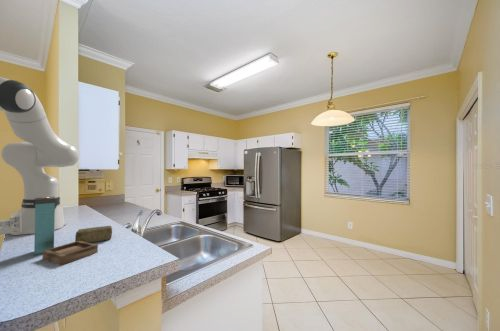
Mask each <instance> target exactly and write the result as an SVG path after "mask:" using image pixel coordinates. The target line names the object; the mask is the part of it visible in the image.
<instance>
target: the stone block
mask: <svg viewBox="0 0 500 331" xmlns="http://www.w3.org/2000/svg"><path fill="white" fill-rule="evenodd" d="M112 234H113V228H112V226H111V225H105V226H94V227H86V228H80V229H78V230H77V231H76V233H75V236H74V237H75V238H74V239H75V241H74V242H76V241H83V242H88V243H92V244H93V243H96V242H97V243H98V242H103V241H108V240H111V238H112Z"/></svg>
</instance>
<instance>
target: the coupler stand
mask: <svg viewBox="0 0 500 331" xmlns="http://www.w3.org/2000/svg"><path fill="white" fill-rule="evenodd" d="M98 246H99V245H98V244H96V243H93V242H92V243H88V242H83V241H76V242H75V241H73V242H70V243H66V244H63V245H59V246H54V248H51V249H48V250H44V251H43V254H42V260H44V261H48V262H51V263H54V264H58V265H61V266H64V265H66V264H69V263H71V262H74V261H78V260H80V259H84V258H85V257H88V256H91V255H94V254H96V253H98V251H99V250H98V248H99V247H98Z"/></svg>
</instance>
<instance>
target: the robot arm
mask: <svg viewBox="0 0 500 331" xmlns="http://www.w3.org/2000/svg"><path fill="white" fill-rule="evenodd" d="M0 111H3V112H4V114H5V117H6V119H7V120H8V123H9V124H10V127H11V129H12V131H13V134H14V135H15V136H16V137H17V138H18V139H20V140H22V141H20V142H19V141H18V142H17V141H16V142H10V143H9V142H8V143H7V144H5V145H4V147H3V148H2V149H1V154H0V155H1V160H3V162H5V163H6V164H7V165H9V166H10V167H12V168H13V169H15V170H16V171H17V172H18V174H19V175H20V177H21V179H22V181H23V182H22V183H23V192H24V194H23V197H24V198H23V199H22V202H21V205H20V209H19V210H18V211H17V212H16V213H15V214H14V215H13V216H12V217H9V220H0V235H1V236H2V235H5V234H8V235H10V236H21V235H31V234H33V235H35V198H41V197H55V217H54V231H55V230H56V231H57V230H59V229H61V228H63V227H64V226H66V225H67V224H68V223H67V221H65V219H64V210H63V207H61V197H60V196H59V195H60V193H59V192H60V182H59V180H58V178H56V177H55V176H53V175H51V174H48V173H47V172H46V171H45V169H44V168H64V167H65V168H66V167H71V166H74V165H76V164H77V162H78V161H79V159H80V153H79V150H78V148H76V146H74V145H72V144H70V143H68V142H66V141H65V140H63V139H62V138H60V137H59V136H58V135H57V133H55V132H54V130H53V129H52V127H51V124H50V121H49V119H48V117H47V114H46V111H45V109H44V105H42V103H41V101H40V99H39V98H38V95H36V93H35V92H34V91H33V89H32V88H30V86H28V85H26V84H25V83H23V82H21V81H18V80H13V79H9V78H6V77H2V76H0Z"/></svg>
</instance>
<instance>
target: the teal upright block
mask: <svg viewBox="0 0 500 331" xmlns="http://www.w3.org/2000/svg"><path fill="white" fill-rule="evenodd" d="M54 217H55V197H41V198H35V233H34V242H33V243H34V246H33V247H34V249H33V251H34V252H33V253H34V255H33V256H39V255H43V251H44V250H48V249H51V248H55V230H54Z"/></svg>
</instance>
